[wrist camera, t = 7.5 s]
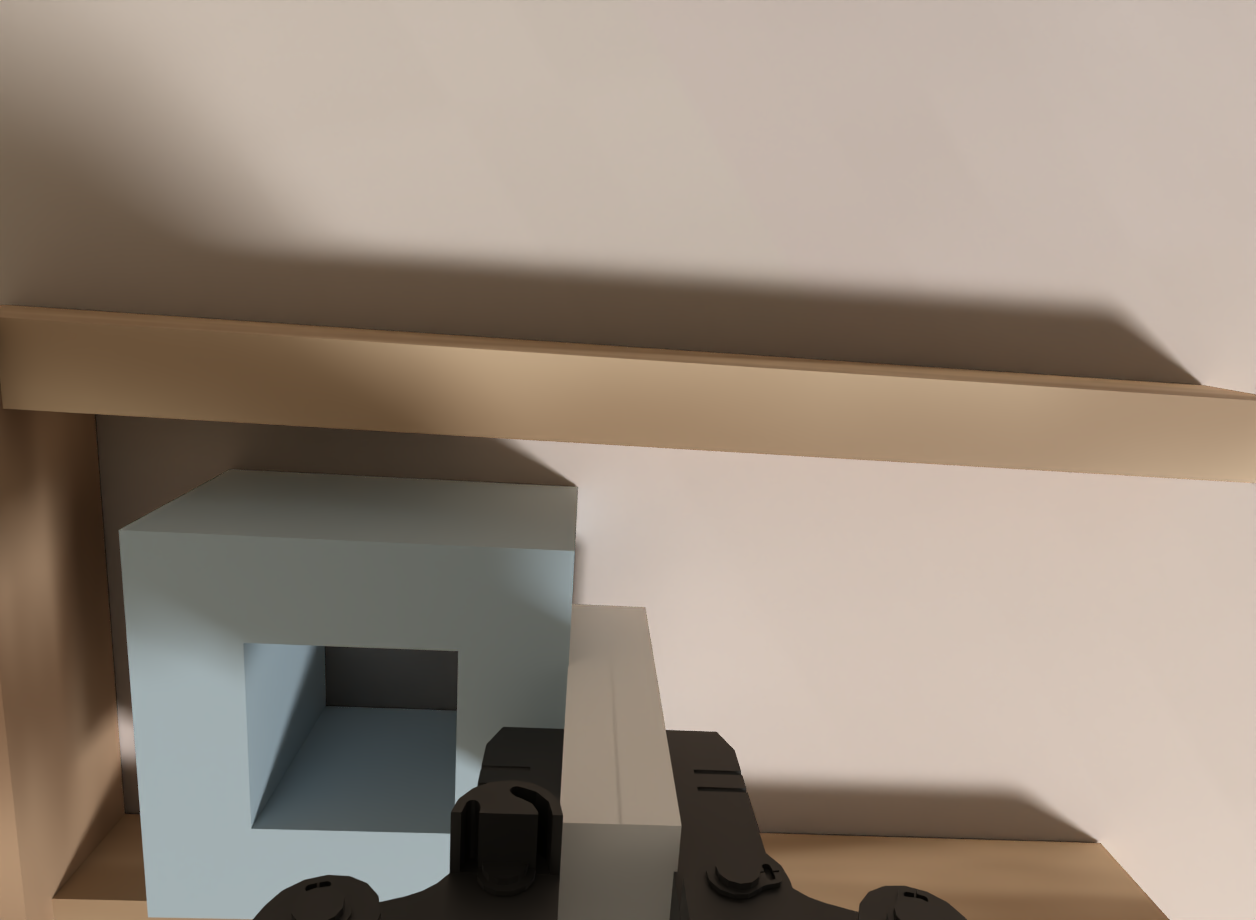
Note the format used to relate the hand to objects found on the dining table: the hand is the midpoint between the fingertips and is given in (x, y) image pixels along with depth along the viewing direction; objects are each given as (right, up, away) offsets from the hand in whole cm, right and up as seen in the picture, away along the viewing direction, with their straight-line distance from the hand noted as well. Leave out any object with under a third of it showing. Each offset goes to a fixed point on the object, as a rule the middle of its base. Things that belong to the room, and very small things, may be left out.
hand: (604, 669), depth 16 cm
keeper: (-4, 0, +1) cm, 4 cm away
